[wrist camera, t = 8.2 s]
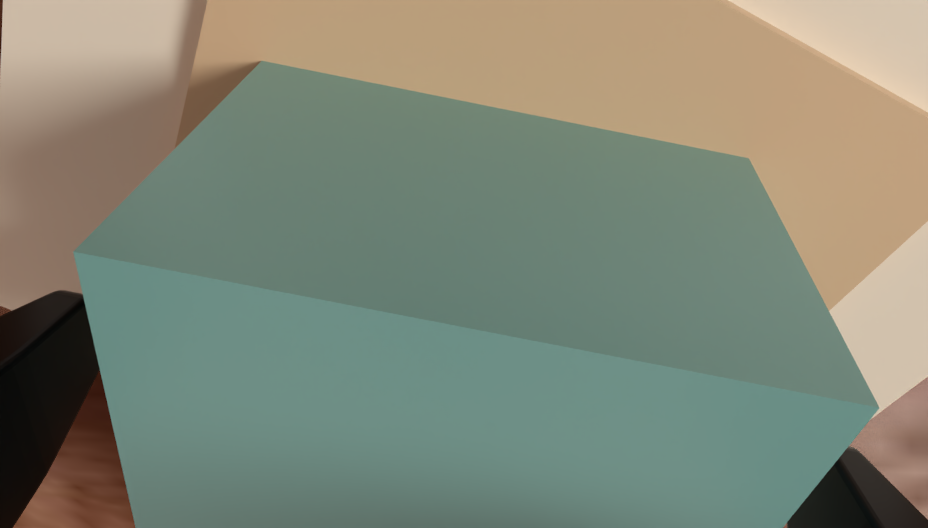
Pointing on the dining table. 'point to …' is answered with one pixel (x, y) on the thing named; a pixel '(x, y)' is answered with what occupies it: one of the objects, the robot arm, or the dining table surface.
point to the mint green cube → (457, 324)
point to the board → (512, 88)
